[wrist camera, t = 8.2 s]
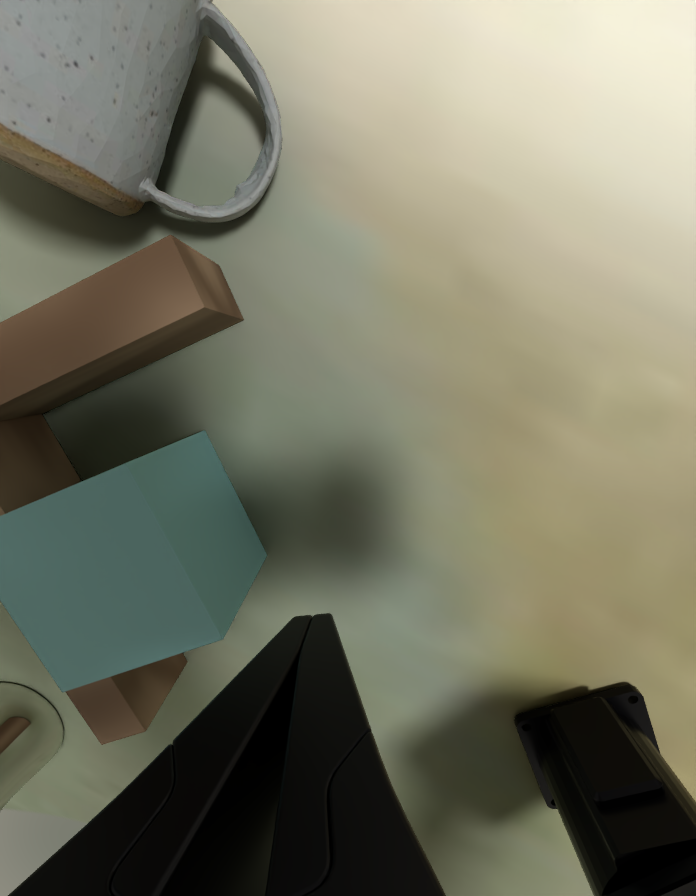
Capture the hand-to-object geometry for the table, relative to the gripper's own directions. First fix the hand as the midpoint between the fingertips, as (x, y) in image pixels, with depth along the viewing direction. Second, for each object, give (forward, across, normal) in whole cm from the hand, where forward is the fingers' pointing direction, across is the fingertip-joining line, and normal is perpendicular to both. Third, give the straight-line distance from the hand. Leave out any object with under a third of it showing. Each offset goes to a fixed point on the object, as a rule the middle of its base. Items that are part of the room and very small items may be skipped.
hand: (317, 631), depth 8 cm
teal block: (+10, +9, +1) cm, 13 cm away
